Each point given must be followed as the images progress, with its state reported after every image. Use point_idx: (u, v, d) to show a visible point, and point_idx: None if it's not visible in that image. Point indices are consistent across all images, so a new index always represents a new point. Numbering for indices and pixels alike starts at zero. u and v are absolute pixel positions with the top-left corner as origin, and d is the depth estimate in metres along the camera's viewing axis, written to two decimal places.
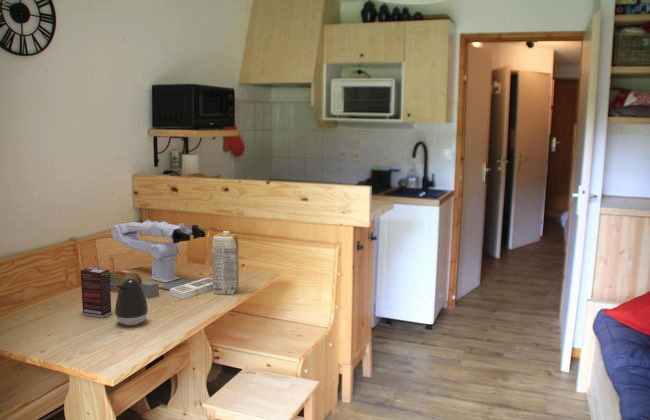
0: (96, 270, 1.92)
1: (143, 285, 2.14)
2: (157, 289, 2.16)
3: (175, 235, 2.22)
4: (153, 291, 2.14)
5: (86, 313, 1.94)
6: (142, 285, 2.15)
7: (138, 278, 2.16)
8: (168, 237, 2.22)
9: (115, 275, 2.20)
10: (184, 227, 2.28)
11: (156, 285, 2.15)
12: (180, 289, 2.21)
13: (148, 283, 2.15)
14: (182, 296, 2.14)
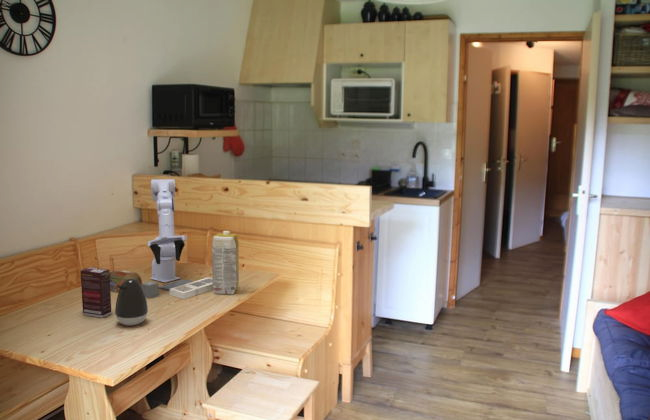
0: (96, 270, 1.92)
1: (143, 285, 2.14)
2: (157, 289, 2.16)
3: None
4: (153, 291, 2.14)
5: (86, 313, 1.94)
6: (142, 285, 2.15)
7: (138, 278, 2.16)
8: None
9: (115, 275, 2.20)
10: (167, 238, 2.15)
11: (156, 285, 2.15)
12: (180, 289, 2.21)
13: (148, 283, 2.15)
14: (182, 296, 2.14)
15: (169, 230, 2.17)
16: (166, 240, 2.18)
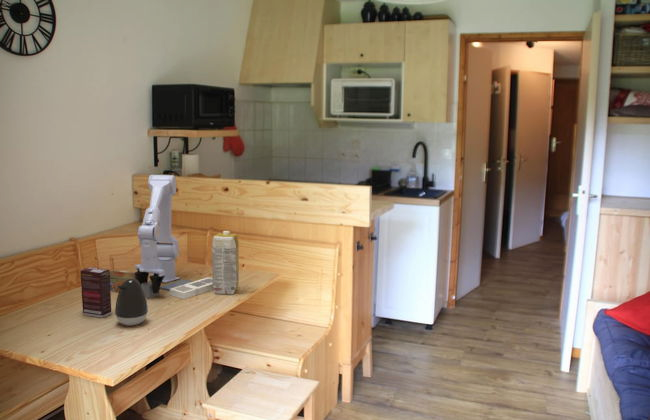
0: (96, 270, 1.92)
1: (143, 285, 2.14)
2: None
3: None
4: None
5: (86, 313, 1.94)
6: (142, 285, 2.15)
7: (136, 278, 2.17)
8: None
9: (113, 275, 2.20)
10: None
11: None
12: (180, 289, 2.21)
13: (148, 283, 2.15)
14: (182, 296, 2.14)
15: (148, 263, 2.11)
16: None
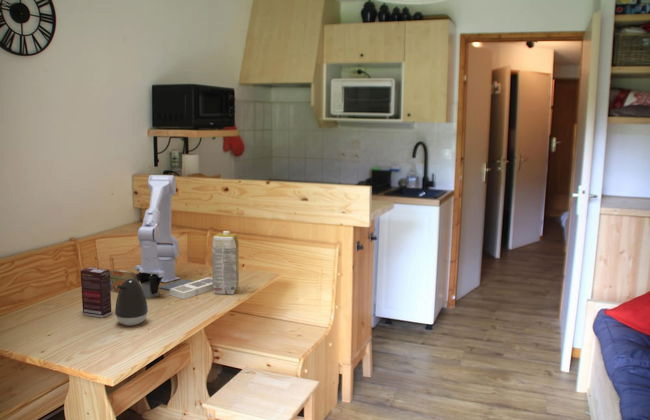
0: (96, 270, 1.92)
1: (143, 285, 2.14)
2: None
3: None
4: None
5: (86, 313, 1.94)
6: (142, 285, 2.15)
7: (136, 278, 2.17)
8: None
9: (112, 275, 2.20)
10: None
11: None
12: (180, 289, 2.21)
13: (148, 283, 2.15)
14: (182, 296, 2.14)
15: (148, 264, 2.11)
16: None
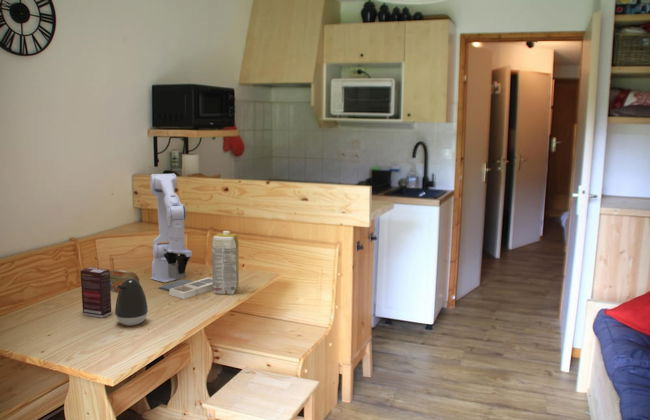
0: (96, 270, 1.92)
1: (170, 266, 2.15)
2: None
3: None
4: None
5: (86, 313, 1.94)
6: (169, 266, 2.15)
7: (136, 278, 2.17)
8: None
9: (112, 275, 2.20)
10: None
11: None
12: (180, 289, 2.21)
13: (175, 264, 2.16)
14: (182, 296, 2.14)
15: (175, 244, 2.12)
16: None
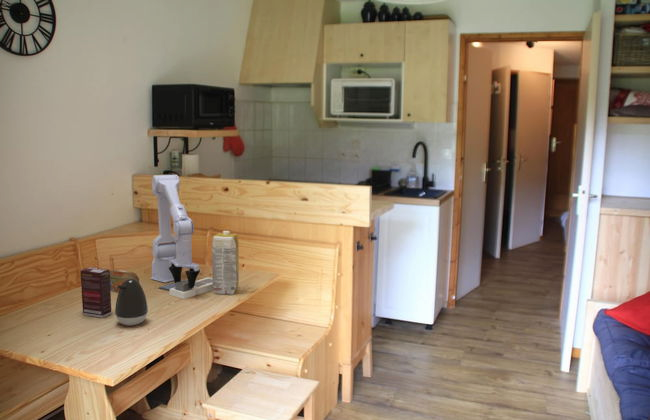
0: (96, 270, 1.92)
1: (177, 284, 2.16)
2: (191, 288, 2.18)
3: None
4: (187, 290, 2.16)
5: (86, 313, 1.94)
6: (176, 284, 2.17)
7: (136, 278, 2.17)
8: None
9: (112, 275, 2.20)
10: None
11: None
12: None
13: (182, 282, 2.17)
14: (182, 296, 2.14)
15: (183, 258, 2.13)
16: None
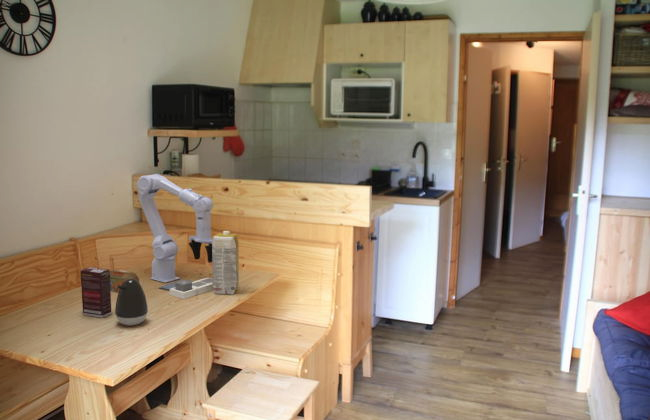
0: (96, 270, 1.92)
1: (177, 284, 2.16)
2: (191, 288, 2.18)
3: None
4: (187, 290, 2.16)
5: (86, 313, 1.94)
6: (176, 284, 2.17)
7: (136, 278, 2.17)
8: None
9: (112, 275, 2.20)
10: None
11: (190, 284, 2.17)
12: None
13: (182, 282, 2.17)
14: (182, 296, 2.14)
15: (203, 233, 2.26)
16: None
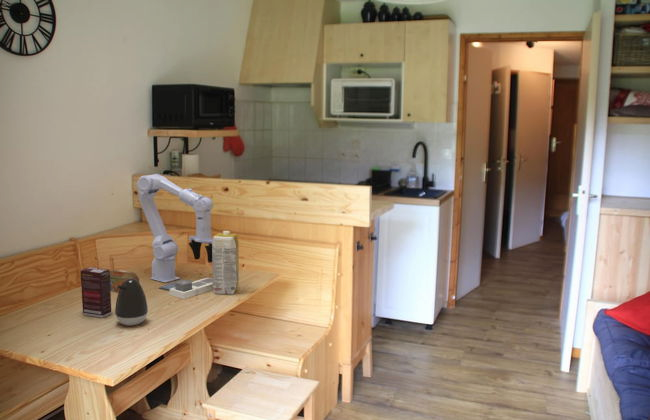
0: (96, 270, 1.92)
1: (177, 284, 2.16)
2: (191, 288, 2.18)
3: None
4: (187, 290, 2.16)
5: (86, 313, 1.94)
6: (176, 284, 2.17)
7: (136, 278, 2.17)
8: None
9: (112, 275, 2.20)
10: None
11: (190, 284, 2.17)
12: None
13: (182, 282, 2.17)
14: (182, 296, 2.14)
15: (203, 233, 2.26)
16: None
